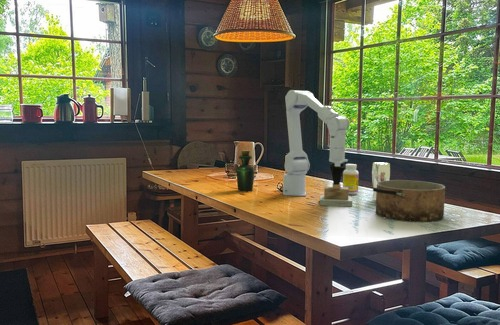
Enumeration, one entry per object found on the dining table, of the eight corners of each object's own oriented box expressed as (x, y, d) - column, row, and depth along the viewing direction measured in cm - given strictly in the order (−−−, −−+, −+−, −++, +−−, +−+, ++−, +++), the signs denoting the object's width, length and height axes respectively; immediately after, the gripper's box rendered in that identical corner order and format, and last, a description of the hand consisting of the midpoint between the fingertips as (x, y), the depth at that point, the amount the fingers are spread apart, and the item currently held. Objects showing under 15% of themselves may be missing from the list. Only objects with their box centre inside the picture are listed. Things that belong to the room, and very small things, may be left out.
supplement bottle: (358, 195, 203) (359, 165, 202) (342, 194, 204) (343, 165, 203) (357, 192, 210) (358, 163, 208) (342, 192, 211) (343, 163, 210)
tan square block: (332, 188, 183) (332, 184, 182) (332, 187, 186) (332, 183, 185) (340, 188, 182) (340, 184, 182) (340, 187, 185) (340, 183, 185)
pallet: (324, 198, 182) (324, 188, 182) (324, 196, 187) (324, 186, 187) (348, 199, 181) (348, 189, 181) (347, 197, 186) (347, 187, 186)
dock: (320, 205, 180) (320, 199, 180) (320, 200, 190) (320, 195, 190) (352, 206, 179) (352, 201, 178) (350, 201, 188) (350, 196, 188)
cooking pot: (403, 227, 147) (405, 192, 146) (353, 213, 167) (354, 183, 165) (464, 217, 163) (466, 186, 162) (412, 205, 182) (414, 178, 181)
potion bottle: (244, 192, 206) (244, 151, 204) (232, 190, 212) (232, 150, 210) (258, 191, 211) (258, 150, 209) (246, 188, 217) (246, 149, 215)
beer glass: (379, 202, 188) (380, 164, 186) (367, 199, 194) (368, 162, 192) (392, 200, 191) (394, 163, 190) (380, 197, 197) (381, 162, 196)
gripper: (349, 149, 174) (347, 186, 176) (346, 146, 189) (345, 180, 190) (329, 149, 175) (328, 185, 177) (328, 146, 190) (327, 180, 191)
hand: (336, 183), depth 184 cm, fingers open, 7 cm apart
